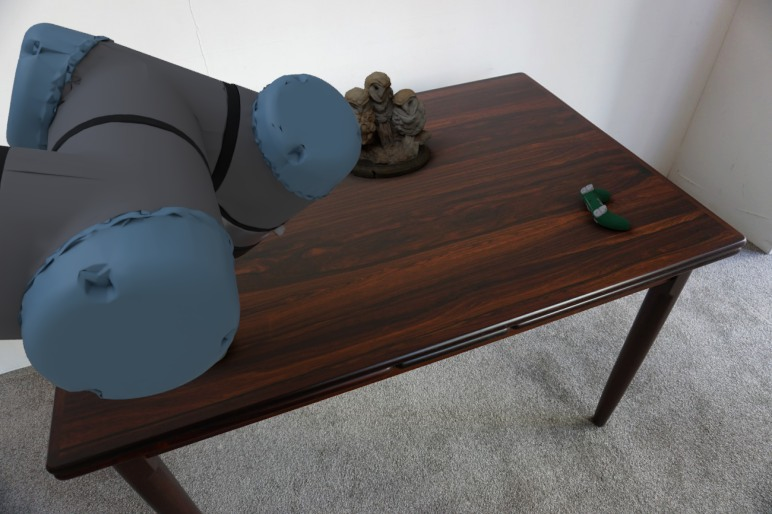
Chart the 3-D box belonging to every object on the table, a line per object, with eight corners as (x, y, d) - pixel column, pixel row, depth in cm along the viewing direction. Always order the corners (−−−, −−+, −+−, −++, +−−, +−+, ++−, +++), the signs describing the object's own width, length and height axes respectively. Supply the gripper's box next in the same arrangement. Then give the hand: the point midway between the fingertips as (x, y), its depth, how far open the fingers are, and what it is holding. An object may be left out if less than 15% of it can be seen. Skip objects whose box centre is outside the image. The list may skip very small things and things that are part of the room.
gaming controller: (591, 206, 90) (572, 189, 87) (610, 192, 88) (591, 174, 85) (613, 242, 84) (593, 224, 81) (634, 227, 82) (614, 209, 79)
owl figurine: (342, 186, 94) (332, 98, 82) (332, 151, 102) (321, 67, 90) (438, 170, 97) (441, 82, 85) (421, 137, 105) (421, 53, 93)
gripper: (205, 296, 41) (136, 344, 58) (311, 192, 50) (223, 261, 67) (132, 226, 39) (83, 297, 57) (255, 131, 48) (180, 218, 66)
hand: (159, 277), depth 62 cm, fingers closed on stylus, 1 cm apart
